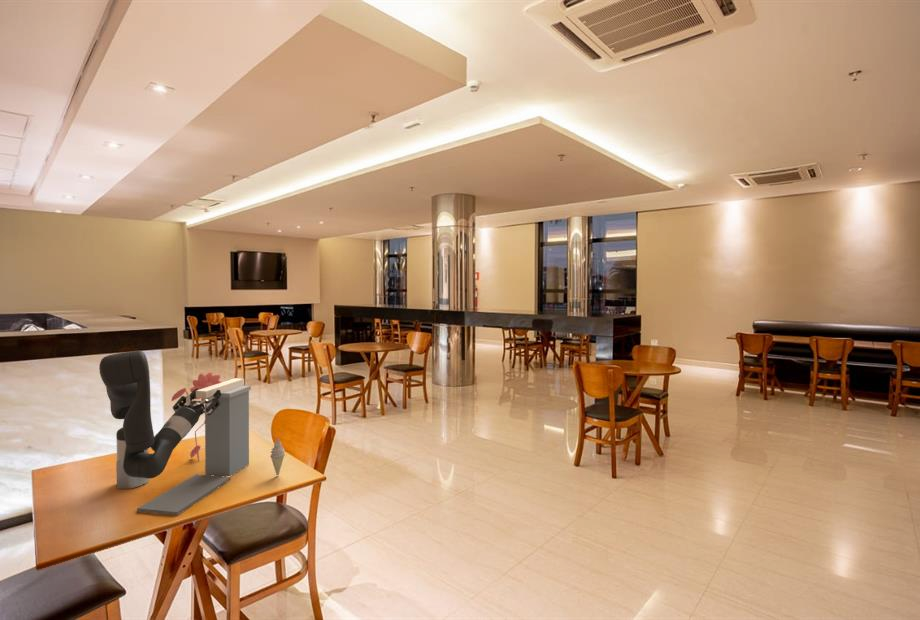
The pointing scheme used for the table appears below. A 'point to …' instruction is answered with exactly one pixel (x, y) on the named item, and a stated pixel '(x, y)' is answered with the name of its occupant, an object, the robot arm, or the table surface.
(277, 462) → the ice cream cone
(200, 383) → the figurine
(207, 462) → the pedestal
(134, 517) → the table surface
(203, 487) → the mat
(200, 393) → the slat
